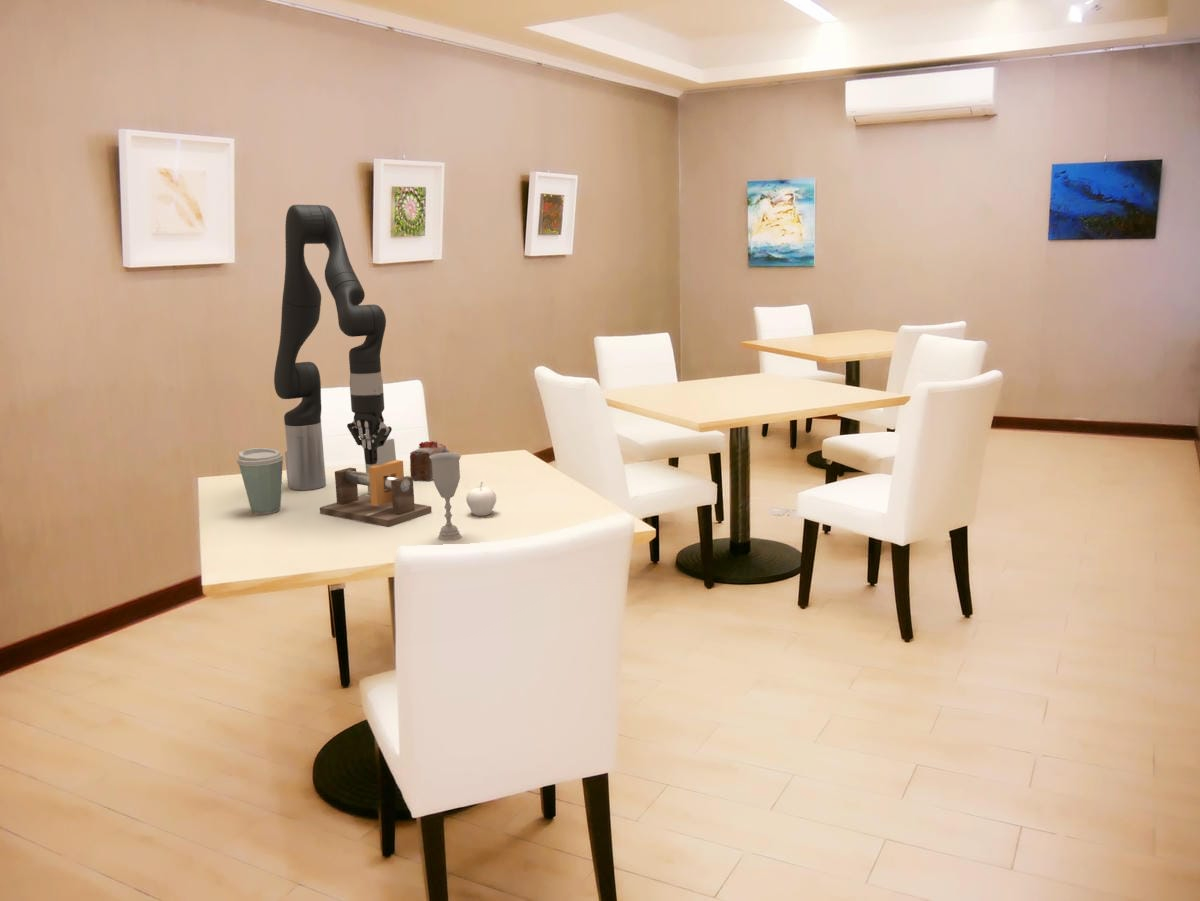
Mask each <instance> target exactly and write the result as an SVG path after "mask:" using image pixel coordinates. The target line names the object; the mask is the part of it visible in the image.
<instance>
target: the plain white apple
mask: <svg viewBox="0 0 1200 901" xmlns="http://www.w3.org/2000/svg"><path fill="white" fill-rule="evenodd" d="M483 483H484V482H483V481H481V482H480V483H479V484H480V485H479V487H476V488H472V489H470V490H469V491H468V492H467V495H466V498H465V499H466V503H467V505H468V508H469V510H470V512H471V513H472V514H473V515H474V516H479V517H485V516H488V515H490V514H491V513H492V512H493V510H494V507H495V505H496V502H497V494H496V492H495V490H493V488H491V487H485V486H483Z"/></svg>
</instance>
